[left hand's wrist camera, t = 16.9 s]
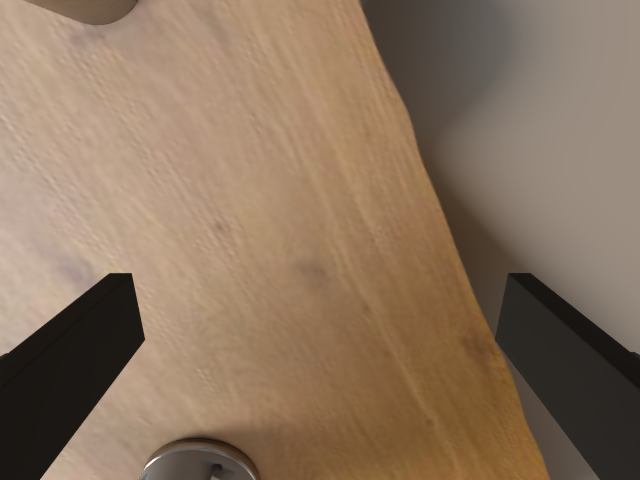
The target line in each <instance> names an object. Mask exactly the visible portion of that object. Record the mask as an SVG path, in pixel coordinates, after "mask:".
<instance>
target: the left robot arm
mask: <svg viewBox="0 0 640 480" xmlns="http://www.w3.org/2000/svg"><path fill="white" fill-rule="evenodd" d="M144 341H145V337H144V332H143V327H142V322H141V317H140V312H139V307H138V302H137V297H136V292H135V287H134V283H133V278H132V273H109V274H108V275H107V276H105V277H104V278H103V279H102V280H100V281H99V282H98V283H97V284H95V285H94V286H93V287H92V288H90V289H89V290H88V291H86V292H85V293H84V294H83V295H81V296H80V297H79V298H78V299H76V300H75V301H74V302H73V303H71V304H70V305H69V306H67V307H66V308H65V309H64V310H62V311H61V312H60V313H59V314H57V315H56V316H55V317H54V318H52V319H51V320H50V321H48V322H47V323H46V324H45V325H43V326H42V327H41V328H40V329H38V330H37V331H36V332H35V333H33V334H32V335H31V336H29V337H28V338H27V339H26V340H24V341H23V342H22V343H21V344H19V345H18V346H17V347H16V348H14V349H13V350H12V351H10V352H9V353H6V354H4V355H2V356H0V480H40V479H41V478H42V476H43V475H44V474H45V472H46V471H47V470H48V468H49V467H50V466H51V464H52V463H53V462H54V460H55V459H56V458H57V456H58V455H59V454H60V452H61V451H62V450H63V448H64V447H65V446H66V444H67V443H68V442H69V440H70V439H71V438H72V436H73V435H74V434H75V432H76V431H77V430H78V428H79V427H80V426H81V424H82V423H83V422H84V420H85V419H86V418H87V416H88V415H89V414H90V412H91V411H92V410H93V408H94V407H95V406H96V404H97V403H98V402H99V400H100V399H101V398H102V396H103V395H104V394H105V392H106V391H107V390H108V388H109V387H110V386H111V384H112V383H113V382H114V380H115V379H116V378H117V376H118V375H119V374H120V372H121V371H122V370H123V368H124V367H125V366H126V364H127V363H128V362H129V360H130V359H131V358H132V356H133V355H134V354H135V353H136V351H137V350H138V349H139V347H140V346H141V345H142V343H143V342H144ZM495 341H496V342H497V343H498V345H499V346H500V347H501V349H502V350H503V351H504V353H505V354H506V355H507V356H508V358H509V359H510V360H511V362H512V363H513V364H514V366H515V367H516V368H517V370H518V371H519V372H520V374H521V375H522V376H523V378H524V379H525V380H526V382H527V383H528V384H529V386H530V387H531V388H532V390H533V391H534V392H535V394H536V395H537V396H538V398H539V399H540V400H541V402H542V403H543V404H544V406H545V407H546V408H547V410H548V411H549V412H550V414H551V415H552V416H553V418H554V419H555V420H556V422H557V423H558V424H559V426H560V427H561V428H562V430H563V431H564V432H565V434H566V435H567V436H568V438H569V439H570V440H571V442H572V443H573V444H574V446H575V447H576V448H577V450H578V451H579V452H580V453H581V455H582V456H583V458H584V459H585V460H586V462H587V463H588V464H589V466H590V467H591V468H592V470H593V471H594V472H595V474H596V475H597V476H598V477H599V479H600V480H640V355H639V354H637V353H635V352H629V351H628V350H627V349H626V348H624V347H623V346H622V345H621V344H619V343H618V342H617V341H616V340H614V339H613V338H612V337H611V336H609V335H608V334H607V333H605V332H604V331H603V330H602V329H600V328H599V327H598V326H597V325H595V324H594V323H593V322H592V321H590V320H589V319H588V318H586V317H585V316H584V315H583V314H581V313H580V312H579V311H578V310H576V309H575V308H574V307H573V306H571V305H570V304H569V303H567V302H566V301H565V300H564V299H562V298H561V297H560V296H559V295H557V294H556V293H555V292H553V291H552V290H551V289H550V288H548V287H547V286H546V285H545V284H543V283H542V282H541V281H540V280H538V279H537V278H536V277H534V276H533V275H532V274H531V273H508V278H507V283H506V287H505V292H504V297H503V302H502V307H501V312H500V317H499V322H498V327H497V332H496V337H495ZM139 480H260V476H259V473H258V471H257V469H256V467H255V465H254V464H253V463H252V461H251V460H250V459H249V458H248V457H247V456H245V455H244V454H243V453H242V452H240V451H239V450H237V449H235V448H233V447H231V446H229V445H227V444H224V443H221V442H217V441H213V440H207V439H186V440H180V441H176V442H173V443H170V444H168V445H166V446H164V447H162V448H160V449H159V450H157V451H156V452H155V453H154V454H153V455H152V456H151V457H150V458H149V460H148V461H147V463H146V465H145V467H144V469H143V471H142V473H141V475H140V478H139Z"/></svg>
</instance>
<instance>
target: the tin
mask: <svg viewBox="0 0 640 480" xmlns="http://www.w3.org/2000/svg"><path fill="white" fill-rule="evenodd" d="M24 1H26V2H29V3H32V4H34V5H37V6H39V7H42V8H45V9H47V10H50V11H52V12H55V13H57V14H60V15H63V16H65V17H68V18H70V19H73V20H76V21H78V22H81V23H85V24H90V25H104V24H109V23H112V22H115V21H117V20H119V19H121V18H122V17H124V16H125V15H126V14H127V13H128V12H129V11H130V10H131V9H132V8H133V6H134V5H135V4H136V2H137V0H24Z"/></svg>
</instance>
